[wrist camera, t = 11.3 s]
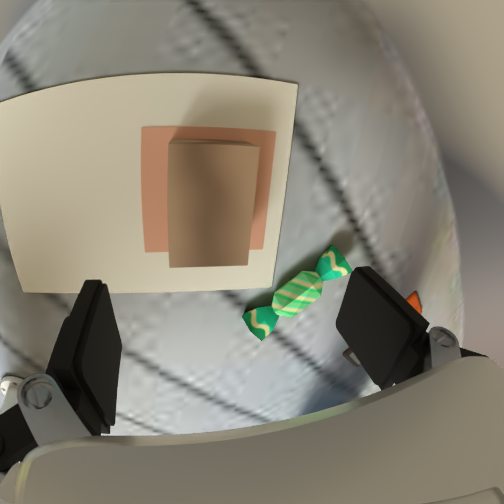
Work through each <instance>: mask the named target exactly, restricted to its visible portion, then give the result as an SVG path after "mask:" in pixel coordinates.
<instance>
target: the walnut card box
mask: <svg viewBox="0 0 504 504" xmlns="http://www.w3.org/2000/svg"><path fill="white" fill-rule="evenodd" d="M259 152H260V147H259V146H256V145H254V144H251V143H249V142H246V141H235V140H214V139H171V141H170V142H169V144H168V172H167V219H168V251H169V268H182V267H217V266H247V265H248V258H249V248H250V238H251V229H252V219H253V209H254V200H255V190H256V181H257V171H258V162H259Z"/></svg>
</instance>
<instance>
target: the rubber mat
mask: <svg viewBox="0 0 504 504" xmlns="http://www.w3.org/2000/svg"><path fill="white" fill-rule="evenodd" d="M297 88H298V84H292V83H287V82H281V81H275V80H268V79H260V78H252V77H243V76H233V75H220V74H200V73H158V74H139V75H126V76H116V77H107V78H100V79H93V80H86V81H81V82H75V83H70V84H65V85H60V86H56V87H51V88H47V89H43V90H39V91H35V92H32V93H28V94H25V95H22V96H18V97H15V98H12V99H9V100H6V101H3V102H0V206H1V211H2V217H3V222H4V227H5V231H6V236H7V240H8V244H9V248H10V252H11V255H12V259H13V262H14V266H15V269H16V272H17V275H18V278H19V281H20V284H21V287H22V290H23V292H29V293H80V290H81V288H82V286H83V284H84V281H85V280H91V279H100V280H101V281H102V283H106V284H107V286H108V290H109V293H156V292H188V291H211V290H231V289H249V288H265V287H272V281H273V274H274V268H275V261H276V254H277V247H278V240H279V233H280V226H281V219H282V212H283V205H284V197H285V190H286V182H287V174H288V166H289V158H290V150H291V142H292V133H293V125H294V116H295V107H296V97H297ZM171 139H214V140H235V141H246V142H249V143H251V144H254V145H256V146H259V147H260V152H259V162H258V171H257V181H256V190H255V200H254V209H253V219H252V229H251V238H250V248H249V258H248V265H247V266H217V267H182V268H169V251H168V219H167V172H168V144H169V142H170V141H171Z"/></svg>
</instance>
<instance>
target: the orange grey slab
mask: <svg viewBox="0 0 504 504" xmlns="http://www.w3.org/2000/svg"><path fill="white" fill-rule="evenodd" d="M406 301H407V302H408V303H409V304H410V305H412V306H413V307H414V308H415V309H416V310H417V311H418V312H419V313H420V314H421V313H422V309H421V306H420V302H419V300H418V297H417V294H416V293H415V292H413V293H412V294H411V295H410V296H409V297H408V298H407V299H406ZM342 355H343V356H344V357H345V358H346V359H347V360H349V361H350V362H351V363H352V364H353V365H354V366H355V367H358V366H360V365H361V363H360V362H359V360H358V359H357V357H356V356H355V354H354V353H353V351H352V350H351V349H350V347H349V348H348V349H347V350H345V351H344V352H343V354H342Z"/></svg>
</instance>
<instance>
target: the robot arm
mask: <svg viewBox="0 0 504 504" xmlns="http://www.w3.org/2000/svg"><path fill="white" fill-rule="evenodd" d="M429 324H430V323H429V322H428V321H427V320H426V319H425V318H424V317H423V316H422V315H421V314H420V313H419V312H418V311H417V310H416V309H415V308H414V307H413V306H412V305H410V304H409V303H408V302H407V301H406V300H405V299H404V298H403V297H402V296H401V295H400V294H399V293H398V292H397V291H396V290H395V289H394V288H393V287H392V286H390V285H389V284H388V283H387V282H386V281H385V280H384V279H383V278H382V277H381V276H380V275H379V274H377V273H376V272H375V271H374V270H373V269H372V268H371V267H369V266H364V267H356V268H355V269H354V271H352V273H351V275H350V279H349V282H348V285H347V289H346V292H345V295H344V298H343V301H342V305H341V308H340V311H339V314H338V317H337V320H336V328H337V330H338V331H339V333H340V334H341V336H342V337H343V338H344V340H345V341H346V343H347V344H348V346H349V347H350V349H351V350H352V351H353V353H354V354H355V356H356V357H357V359H358V360H359V362H360V363H361V364H362V366H363V367H364V369H365V370H366V372H367V373H368V375H369V376H370V378H371V379H372V381H373V382H374V383H375V384H376V385H378V386H379V387H380V389H381V390H382V391H379V392H376V393H374V394H371V395H368V396H366V397H363V398H360V399H357V400H354V401H351V402H348V403H345V404H342V405H339V406H336V407H332V408H329V409H325V410H322V411H318V412H315V413H311V414H307V415H303V416H299V417H295V418H291V419H286V420H282V421H277V422H272V423H267V424H262V425H256V426H251V427H244V428H238V429H231V430H223V431H215V432H205V433H193V434H178V435H157V436H101V433H105V434H110V426H114V425H115V415H116V399H117V387H118V376H119V367H120V359H121V351H122V343H121V338H120V335H119V331H118V327H117V324H116V320H115V316H114V312H113V308H112V304H111V299H110V295H109V290H108V286H107V284H106V283H102V281H101V280H100V279H91V280H85V281H84V284H83V286H82V288H81V290H80V293H79V295H78V297H77V300H76V302H75V304H74V307H73V309H72V312H71V314H70V316H68V317H66V318H65V320H64V322H63V325H62V327H61V330H60V332H59V335H58V338H57V340H56V343H55V346H54V349H53V352H52V355H51V358H50V361H49V364H48V367H47V370H46V373H45V374H43V373H35V374H32V375H30V376H28V377H26V378H25V379H21V378H18V377H14V376H6V377H4V378H3V379H2V381H1V384H0V388H1V390H2V392H3V394H4V395H5V398H4V401H3V405H2V408H1V412H0V504H504V370H503V369H502V368H501V367H500V366H499V365H498V364H497V363H496V362H495V361H493V360H492V359H490V358H489V357H487V356H486V355H482V354H479V353H476V352H472V351H469V350H466V349H463V348H460V347H459V342H458V340H457V338H456V336H455V335H454V334H453V333H452V332H451V331H449V330H448V329H446V328H443V327H439V326H437V327H433V328H431V329H430V331H429V333H427V332H426V329H427V328H428V326H429ZM394 383H395V384H396V385H394V386H393V384H394Z"/></svg>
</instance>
